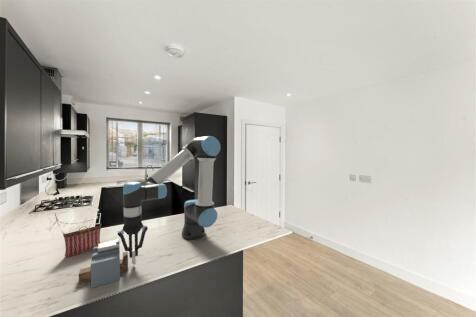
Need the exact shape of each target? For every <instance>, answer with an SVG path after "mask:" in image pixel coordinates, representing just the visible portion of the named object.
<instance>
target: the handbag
mask: <svg viewBox="0 0 476 317" xmlns="http://www.w3.org/2000/svg"><path fill="white" fill-rule="evenodd" d="M54 216H55V220H56V221H55V222H53V224H52V225H53V226H54V225H55V224H56V223H57V225H58V226H60V224H59V223H62V224H63V222H62V221H59V219H58V217H57V215H56V213H54ZM96 219H97V217H95V218H93V219H90V220H86V221H84V223H86V222H90V221H92V220H96ZM98 219H99V220H101V219H100V218H99V217H98ZM81 223H83V222H82V221H81V222H80V224H81ZM64 224H66V225H69V224H71V225H72V224H73V225H74V224H77V222H73V223H65V222H64ZM101 228H102V223H100V224H99V225H96V226H91V227H87V226H86V225H85V226H81V227H80V228H79V229H78V230H76V231H72V232H68V233H67V232H63V231H61V233H62V236H63V239H64V245H65V252H64V257H65V258H66V259H67V258H70V257H73V256H76V255H79V254H82V253H85V252H88V251H91V250H94V248H95V247H98V245H99V243H101Z"/></svg>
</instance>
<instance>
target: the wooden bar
mask: <svg viewBox="0 0 476 317" xmlns="http://www.w3.org/2000/svg"><path fill="white" fill-rule="evenodd" d="M126 271H129V251H125V252H122V258H121V259H120V273H122V272H126ZM85 282H91V266H88V267H85V268H80V269H79V272H78V284H82V283H85Z"/></svg>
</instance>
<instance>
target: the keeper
mask: <svg viewBox="0 0 476 317" xmlns="http://www.w3.org/2000/svg"><path fill="white" fill-rule="evenodd" d="M119 245H120V237H116V239H115V240H109V241H105V242H100V243H99V245H98V253H102V252H107V251H111V250H116V249H120V246H119ZM120 250H121V249H120Z"/></svg>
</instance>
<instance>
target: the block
mask: <svg viewBox="0 0 476 317" xmlns="http://www.w3.org/2000/svg"><path fill="white" fill-rule="evenodd" d="M119 246H120V244H119ZM120 250H121V249H116V250H111V251H107V252H102V253H98V247H95V248H94V249H93V253H92V254H91V262H90V267H91V280H90V288H91V289H93V288H96V287H100V286H102V285H103V286H104V285H107V284H109V283H113V282H116V281H120V280H121V272H120V258H121V256H120Z"/></svg>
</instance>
